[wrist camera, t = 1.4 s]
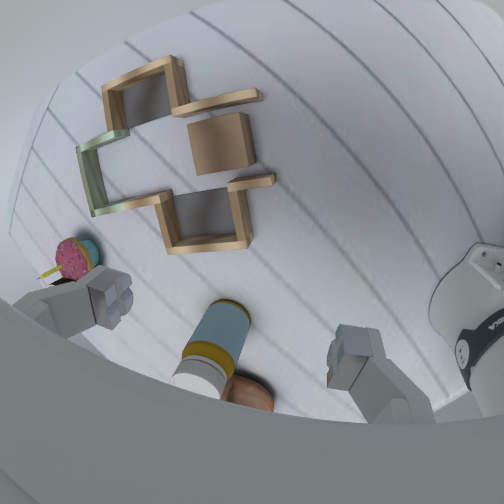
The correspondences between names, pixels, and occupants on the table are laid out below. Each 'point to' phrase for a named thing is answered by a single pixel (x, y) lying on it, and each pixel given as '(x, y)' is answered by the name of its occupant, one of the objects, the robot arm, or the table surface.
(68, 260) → the cupcake
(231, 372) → the bottle
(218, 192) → the box
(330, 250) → the table surface
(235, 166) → the block
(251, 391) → the ceramic jug
